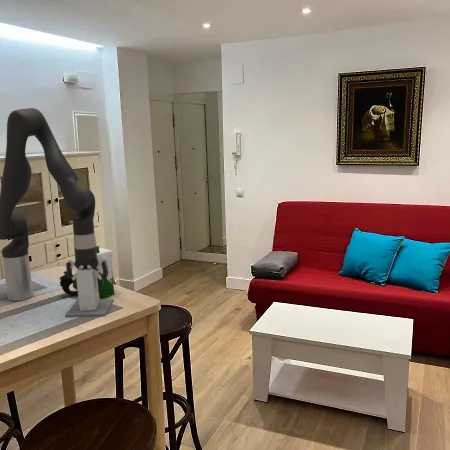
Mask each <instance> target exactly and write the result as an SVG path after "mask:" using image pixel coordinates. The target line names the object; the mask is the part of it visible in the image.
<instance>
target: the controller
mask: <svg viewBox="0 0 450 450" xmlns="http://www.w3.org/2000/svg"><path fill="white" fill-rule="evenodd" d="M63 274H64V275H62V276H59V280H60V281H59V286H60V287H61V288H62V290H63V292H64V293H65V294H67V295H68V296H73V297H75V296H76V297H77V296H78V289H77V290H71V289H70V286H71V285H73V280H72V279H70V278H69V279H68V278H67V270H65V271H63Z"/></svg>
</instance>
